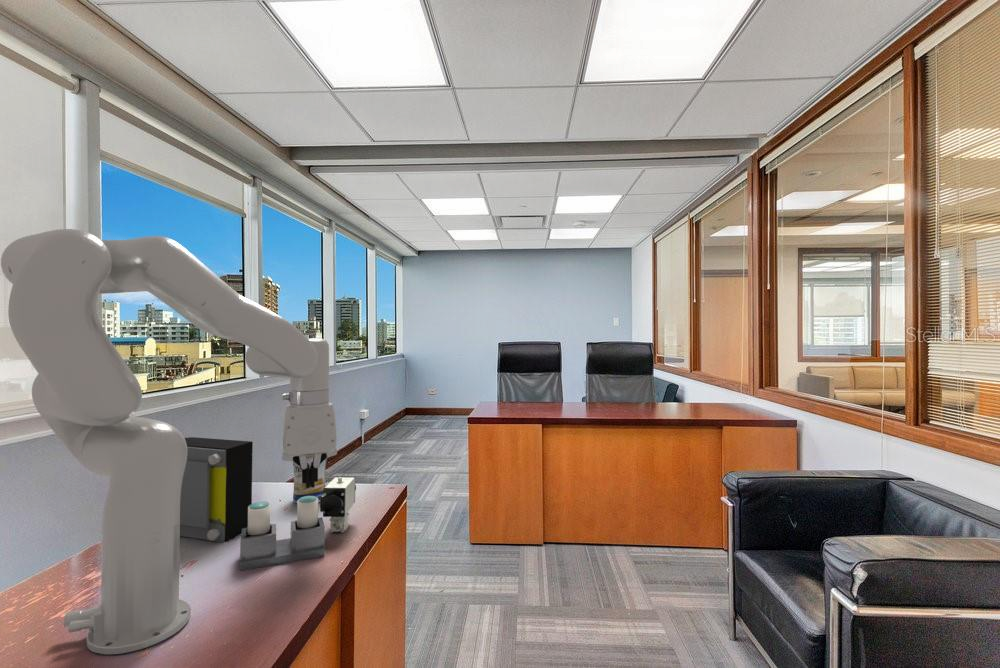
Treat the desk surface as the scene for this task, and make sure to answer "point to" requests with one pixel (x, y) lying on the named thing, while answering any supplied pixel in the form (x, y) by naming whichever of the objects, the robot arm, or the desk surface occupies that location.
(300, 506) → the right knob
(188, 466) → the electrical component
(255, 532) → the left knob
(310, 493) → the beverage bottle
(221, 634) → the desk surface
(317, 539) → the mount
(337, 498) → the pneumatic valve
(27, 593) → the desk surface
